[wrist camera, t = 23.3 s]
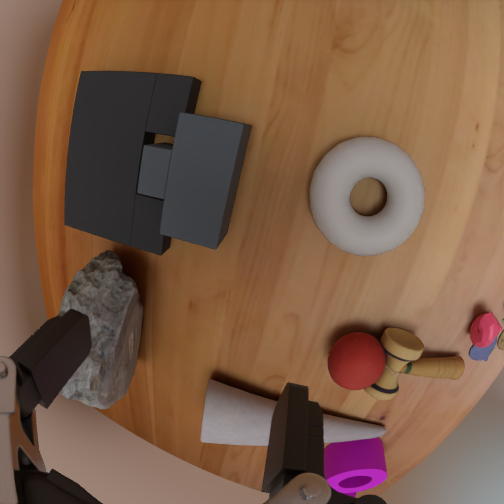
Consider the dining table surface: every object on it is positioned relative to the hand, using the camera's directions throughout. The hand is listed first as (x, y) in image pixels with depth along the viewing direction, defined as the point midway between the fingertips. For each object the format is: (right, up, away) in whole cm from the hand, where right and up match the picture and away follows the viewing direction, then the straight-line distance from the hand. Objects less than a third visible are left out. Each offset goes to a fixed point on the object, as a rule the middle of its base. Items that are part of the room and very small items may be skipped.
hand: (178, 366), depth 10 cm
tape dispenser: (+19, -30, +30) cm, 46 cm away
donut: (+12, +9, +14) cm, 21 cm away
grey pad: (-2, +11, +15) cm, 19 cm away
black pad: (-9, +13, +16) cm, 23 cm away
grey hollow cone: (+10, -16, +25) cm, 31 cm away
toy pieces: (+33, -5, +17) cm, 38 cm away
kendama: (+20, -7, +20) cm, 29 cm away
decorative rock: (-11, -2, +23) cm, 25 cm away
